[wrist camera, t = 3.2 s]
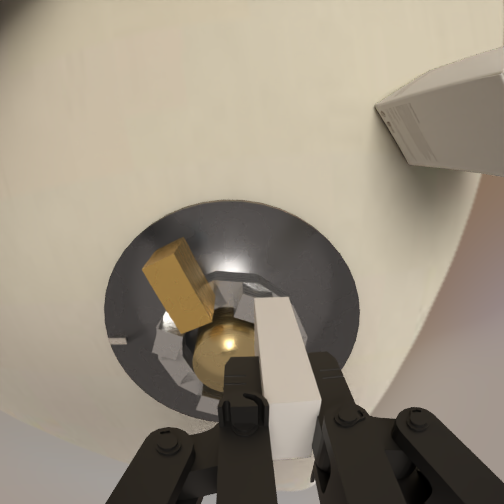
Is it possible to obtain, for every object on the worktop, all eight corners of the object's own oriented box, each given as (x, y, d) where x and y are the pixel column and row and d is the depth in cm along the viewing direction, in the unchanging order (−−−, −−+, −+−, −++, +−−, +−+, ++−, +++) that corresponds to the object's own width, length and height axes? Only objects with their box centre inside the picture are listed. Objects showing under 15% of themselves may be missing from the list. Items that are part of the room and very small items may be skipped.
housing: (122, 404, 32) (110, 437, 27) (102, 191, 25) (72, 202, 20) (326, 416, 34) (337, 450, 29) (379, 215, 27) (409, 230, 22)
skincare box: (406, 166, 25) (541, 195, 11) (368, 101, 24) (496, 69, 9) (463, 124, 24) (591, 130, 9) (431, 64, 22) (555, 30, 8)
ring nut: (319, 360, 30) (334, 402, 24) (203, 402, 31) (199, 445, 25) (246, 202, 25) (250, 218, 19) (112, 267, 26) (84, 297, 20)
